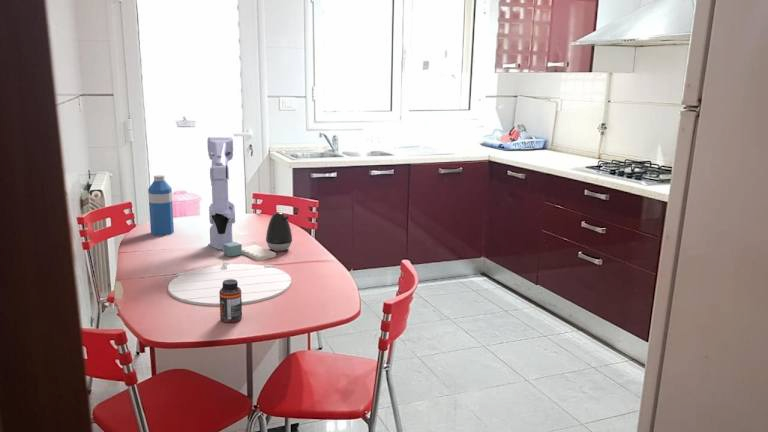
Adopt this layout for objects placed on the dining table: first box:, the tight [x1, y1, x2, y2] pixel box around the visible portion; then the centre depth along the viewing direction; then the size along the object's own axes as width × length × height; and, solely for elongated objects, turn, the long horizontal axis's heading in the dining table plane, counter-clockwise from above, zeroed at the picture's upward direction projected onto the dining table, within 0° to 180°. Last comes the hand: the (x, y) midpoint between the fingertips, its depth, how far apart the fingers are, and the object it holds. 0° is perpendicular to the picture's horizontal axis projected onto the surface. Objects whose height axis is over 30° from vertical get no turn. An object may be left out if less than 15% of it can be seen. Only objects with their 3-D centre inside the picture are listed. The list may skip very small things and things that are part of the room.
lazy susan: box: [167, 260, 292, 307], centre depth 198 cm, size 40×39×3 cm
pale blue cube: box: [222, 241, 243, 258], centre depth 230 cm, size 5×5×4 cm
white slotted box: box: [242, 244, 277, 261], centre depth 232 cm, size 15×8×2 cm, turn 43°
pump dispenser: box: [265, 211, 293, 252], centre depth 237 cm, size 10×10×15 cm
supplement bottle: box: [219, 279, 243, 324], centre depth 168 cm, size 6×6×11 cm
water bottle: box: [147, 174, 175, 237], centre depth 257 cm, size 9×9×25 cm
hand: (221, 233), depth 224 cm, fingers closed
